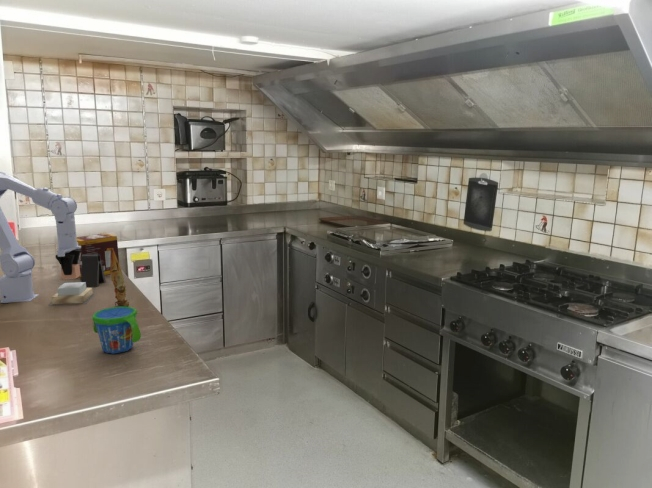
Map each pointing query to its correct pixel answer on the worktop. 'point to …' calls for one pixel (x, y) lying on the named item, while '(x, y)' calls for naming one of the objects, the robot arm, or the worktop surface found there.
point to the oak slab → (72, 297)
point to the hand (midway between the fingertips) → (70, 273)
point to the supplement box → (98, 249)
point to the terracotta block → (74, 274)
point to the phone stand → (92, 270)
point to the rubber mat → (76, 303)
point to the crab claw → (118, 280)
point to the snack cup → (116, 328)
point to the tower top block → (72, 288)
